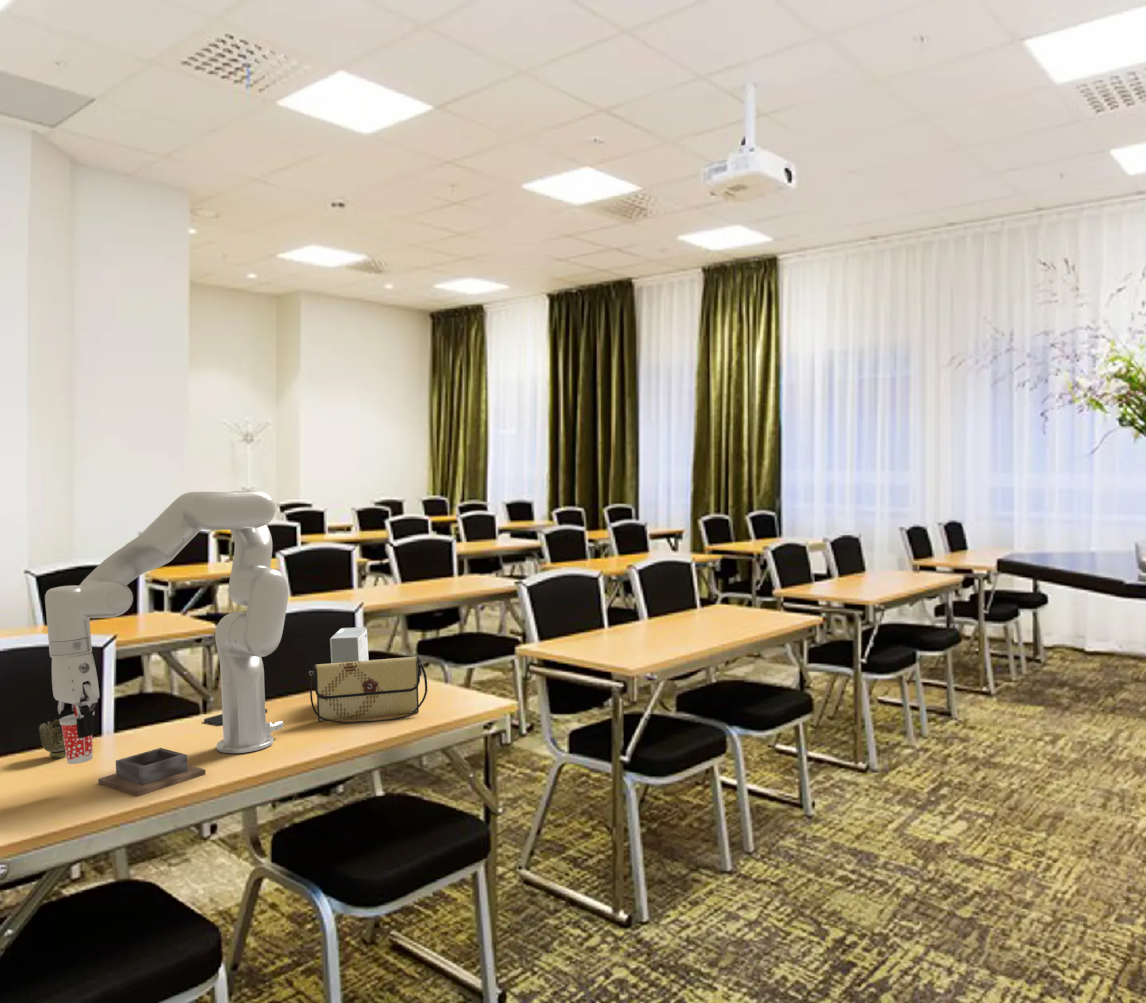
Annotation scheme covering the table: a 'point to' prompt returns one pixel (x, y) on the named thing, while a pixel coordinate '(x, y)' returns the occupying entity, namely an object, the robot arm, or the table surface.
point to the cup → (52, 739)
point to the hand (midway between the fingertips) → (77, 733)
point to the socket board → (150, 772)
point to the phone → (217, 720)
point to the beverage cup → (75, 741)
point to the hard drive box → (349, 645)
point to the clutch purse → (367, 689)
